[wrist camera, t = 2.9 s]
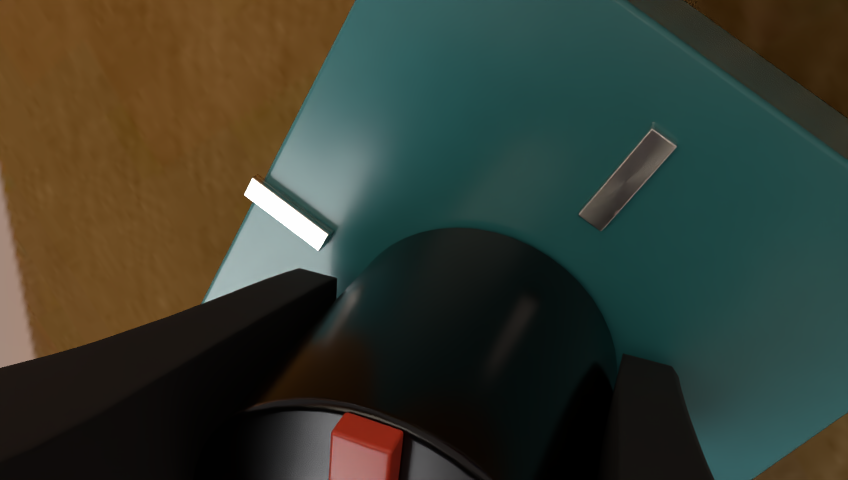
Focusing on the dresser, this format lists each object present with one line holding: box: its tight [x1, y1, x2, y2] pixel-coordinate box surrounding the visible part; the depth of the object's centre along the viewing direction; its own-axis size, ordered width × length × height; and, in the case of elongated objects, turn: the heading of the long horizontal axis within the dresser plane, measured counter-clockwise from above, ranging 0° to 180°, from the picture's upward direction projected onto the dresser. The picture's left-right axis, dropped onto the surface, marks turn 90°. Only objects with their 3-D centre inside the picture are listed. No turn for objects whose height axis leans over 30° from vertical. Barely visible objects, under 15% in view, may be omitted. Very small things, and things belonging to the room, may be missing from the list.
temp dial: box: [193, 228, 617, 480], centre depth 9 cm, size 4×4×4 cm
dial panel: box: [201, 0, 848, 480], centre depth 12 cm, size 10×8×3 cm
